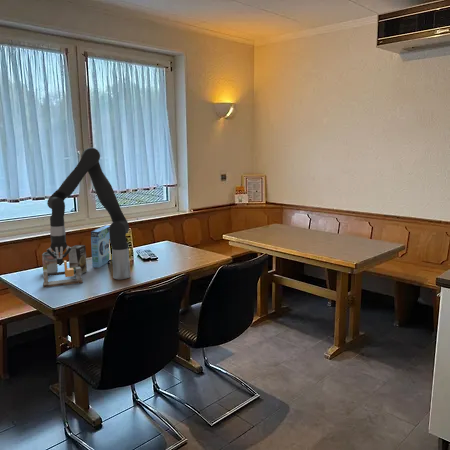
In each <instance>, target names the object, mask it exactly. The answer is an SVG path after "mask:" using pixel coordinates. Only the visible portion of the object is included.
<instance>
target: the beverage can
mask: <svg viewBox="0 0 450 450" xmlns="http://www.w3.org/2000/svg"><path fill="white" fill-rule="evenodd" d="M51 252H52V253H53V254H54V255H56V252H54V251H51ZM41 256H42V257H41V260H42V271H43V270H46V269H47V273H55V272H59V271H58V270H59V267H58V266H59V265H58V264H57V259H56V258H53V257H52V256H51V255H50V254H49V253H48V252H47V251H45V252H43V253H42V254H41Z"/></svg>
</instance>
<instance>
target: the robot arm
mask: <svg viewBox="0 0 450 450" xmlns="http://www.w3.org/2000/svg"><path fill="white" fill-rule="evenodd" d="M80 157H81V158H80V160H79V161H78V163H77V165H76V166H75V167H74V168H73V170H72V171H71V172H70V173H69V175H68V176H67V177H66V178H65V179H64V180H63V181H62V183H61V184H60V186H59V187H58V189H56V191H54V192H53V193H52V194H51V195H50V197H49V198H48V199H47V203H46V204H47V207H48V208H49V209H51V215H50V217H49V224H50V230H49V231H50V247H48V248H46V252H48V253H49V254H50V255H51V256H52V257H53V258H56V259H57V265H58V266H62V265H64V258H66V257H67V255H69V252H70V250H71V247H72V246H69V245H68V244H67V237H66V233H67V232H66V227H65V212H66V204H65V200H66V199H67V198H69V197H70V196H71V195H72V194H73V193H74V191H75V190H76V189H77V187H78V186H79V185H80V183H81V182H82V180H83V179H84V177H85V176H86V174H87V173H88V174H89V177H90V180H91V182H92V185H93V189H94V191H95V193H96V196H97V198H98V201H99V202H100V204H101V206H102V207H103V208H104V209H105V210H106V211H107V214H108V215H109V217H110V220H111V223H110V225H109V226H110V228H109V234H110V243H111V246H112V260H111V261H112V262H111V263H112V277H113V278H112V279H114V280H126V279H129V278H131V262H130V253H129V242H127V233H128V232H129V230H130V225H129V222H128V220H127V219H126V217H125V214H124V213H123V211H122V208H121V206H120V204H119V201H118V199H117V196H116V194H115V191H114V188H113V186H112V184H111V182H110V181H109V179H108V177H106V175H105V173H104V172H103V170H102V166H101V163H100V159H101V153H100V151H99V150H98V149H97V148H95V147H87V148H86V149H85V150H83V152H82V153H81V156H80ZM52 252H56V255H54V254H53V253H52ZM63 253H64V254H63Z"/></svg>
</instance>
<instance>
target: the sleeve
mask: <svg viewBox="0 0 450 450" xmlns="http://www.w3.org/2000/svg"><path fill="white" fill-rule="evenodd" d="M63 266H64V271H65V274H64V278H70V277H71V278H72V277H75V275H74V269H73V268H69V267H68V264H67V260H63Z"/></svg>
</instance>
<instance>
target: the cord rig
mask: <svg viewBox="0 0 450 450" xmlns="http://www.w3.org/2000/svg"><path fill="white" fill-rule="evenodd" d="M42 272H43V273H42V274H43V282H42V286H43V288H52V287H59V286H68V285H75V284H83V278H82V274H81V268H80V267H76V270H75V269H74V274H75V273H76V275H75V278H68V279H67V278H66V279H61V280H60V279H59V280H51V281H49V277H52V276H53V277H54V276H62V275H63V276H64V275H65V270H63V271H57V272H55V273H47V269H46V270H43V269H42Z"/></svg>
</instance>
